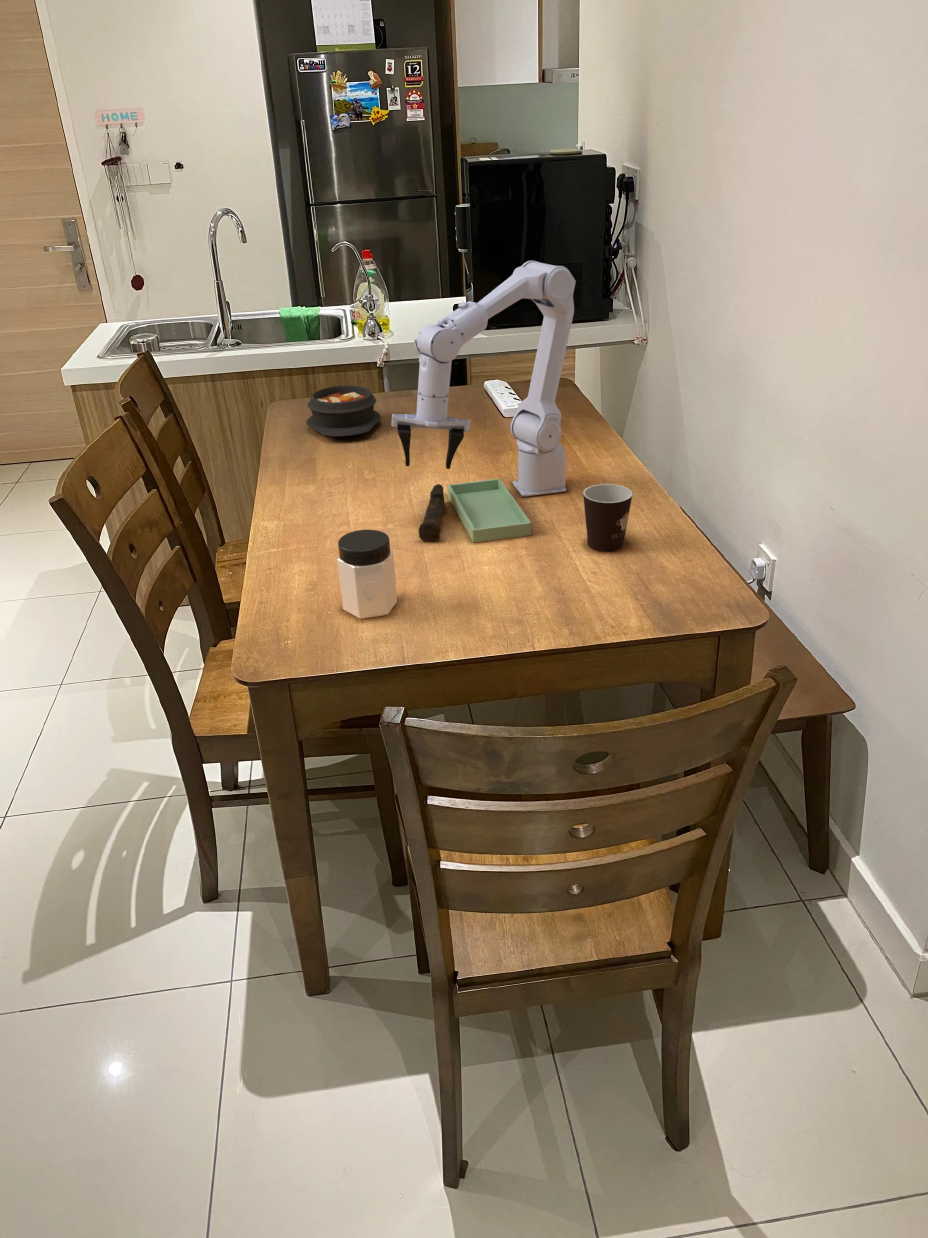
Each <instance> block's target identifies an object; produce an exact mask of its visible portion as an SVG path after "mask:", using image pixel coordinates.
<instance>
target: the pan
mask: <svg viewBox="0 0 928 1238" xmlns="http://www.w3.org/2000/svg"><path fill="white" fill-rule="evenodd" d="M446 489H447V491H446V492H447V498H448V499H449V501H450V503H451V505H452V506H453V508H454V510H455V512H456V514H457V516H458V518H459V520H460V522H461V524H462V525H463V527H464V529H465V531H466V532H467V534H468V536H469V538H470V539H471V541H472V543H481V542H489V541H490V542H491V541H496V540H503V539H504V540H505V539H512V538H520V537H528V536H532V522H531V520H530V519H529V518H528V516H527V515H526V513H525V512H524V510H523V509H522V507H521V506H520V505H519V503H518V502H517V500H516V499H515V498H514V496H513V494H512V493H511V492H510V491H509V489H508V487H507V486H506V485H505V483H504V482H503V481H502V479H501V478H493V479H484V480H483V479H482V480H476V481H475V480H474V481H468V482H459V483H451V484H446Z"/></svg>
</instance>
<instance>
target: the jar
mask: <svg viewBox="0 0 928 1238" xmlns="http://www.w3.org/2000/svg"><path fill="white" fill-rule="evenodd" d="M337 546H338V555H339V556H338V557H337V559H336V561H337V569H338V570H337V571H338V578H339V587H340V594H341V603H342V609H343V610H344V611H345V612H347V613H349V614H350V615H352V616H353V617H356V618H358V619H360V620H362V619H370V618H377V617H383V616H388V615H389V613H390V612H391V611H392V609H393V608H394V606H396V604H397V603H398V593H397V583H396V571H395V570H396V569H395V558H394V552H393V550H391V543H390V537H389V535H388V534H387V533H386V532H383V531H381V530H376V529H359V530H353V531H350V532H348V533H347V532H346V533H345V534H343V535H342V536H341V537H340V538H338V541H337Z"/></svg>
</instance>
